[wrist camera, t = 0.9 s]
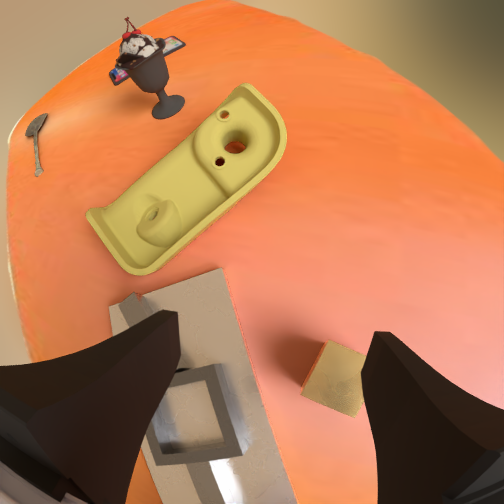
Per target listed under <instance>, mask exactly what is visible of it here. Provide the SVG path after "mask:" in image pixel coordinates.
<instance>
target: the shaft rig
mask: <svg viewBox="0 0 504 504" xmlns="http://www.w3.org/2000/svg"><path fill="white" fill-rule="evenodd" d="M162 309H164V310H170V311H176V312H178V321H179V335H180V347H181V357H180V360H179V363H178V366H177V369H176V372H175V374H174V377H173V379H172V381H171V383H170V385H169V387H168V389H167V391H166V393H165V395H164V397H163V398H162V400H161V402H160V404H159V406H158V408H157V410H156V412H155V414H154V416H153V418H152V419H151V422H150V424H149V426H148V428H147V431H146V434H145V436H144V439H143V442H142V445H141V448H142V451H143V454H144V457H145V460H146V462H147V465H148V468H149V470H150V473H151V476H152V478H153V481H154V483H155V486H156V488H157V491H158V493H159V495H160V498H161V500H162V502H163V504H300V503H299V500H298V498H297V495H296V492H295V489H294V486H293V484H292V481H291V478H290V475H289V472H288V470H287V467H286V464H285V461H284V458H283V455H282V452H281V449H280V447H279V444H278V441H277V438H276V435H275V432H274V429H273V426H272V423H271V420H270V417H269V414H268V411H267V408H266V405H265V402H264V398H263V395H262V392H261V389H260V386H259V383H258V380H257V377H256V373H255V370H254V367H253V364H252V361H251V357H250V354H249V351H248V348H247V344H246V341H245V338H244V334H243V331H242V328H241V324H240V321H239V318H238V314H237V311H236V308H235V304H234V301H233V297H232V294H231V290H230V287H229V283H228V280H227V276H226V273H225V270H224V269H223V268H222V267H221V268H219V269H216V270H213V271H210V272H207V273H204V274H201V275H199V276H196V277H193V278H190V279H187V280H184V281H181V282H178V283H176V284H173V285H170V286H167V287H164V288H161V289H158V290H155V291H152V292H150V293H147V294H144V295H140V294H138V293H135V292H133V293H132V294H131V295H129V296H128V297H127V298H126V299H125V300H123V301H122V302H121V303H118V304H115V305H112V306H109V313H110V320H111V326H112V332H113V336H115V335H117V334H119V333H121V332H123V331H125V330H126V329H128V328H130V327H132V326H133V325H135V324H137V323H139V322H141V321H142V320H144V319H146V318H147V317H149V316H151V315H153V314H154V313H156V312H158V311H160V310H162Z"/></svg>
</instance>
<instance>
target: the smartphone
mask: <svg viewBox="0 0 504 504" xmlns="http://www.w3.org/2000/svg"><path fill="white" fill-rule="evenodd" d="M164 40H165V43H166V46H165V48H164V49H163V55H164V57H165V56H167V55H169V54H171V53H173V52H174V51H176V50H178V49H180V48H182V47H184V46H185V45H186V44H185V43H184V42H182V41H181V40H179V39H178V38H176V37H175V36H170V37H168V38H166V39H164ZM109 75H110V77H111V79H112V81H113V83H114V85H115V86H116V85H118V84H120V83H122V82H123V81H125V80H126V79H127V78H129V77H130V76H129V75H128V74H127V73H126V72H125V71H124V70H121V69H117V68H114V69H113V70H111V71H110V72H109Z"/></svg>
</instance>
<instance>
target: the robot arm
mask: <svg viewBox="0 0 504 504" xmlns="http://www.w3.org/2000/svg"><path fill="white" fill-rule="evenodd" d="M180 357H181V347H180V335H179V321H178V312H176V311H170V310H164V309H162V310H160V311H158V312H156V313H154V314H153V315H151V316H149V317H147V318H146V319H144V320H142V321H141V322H139V323H137V324H135V325H133V326H132V327H130V328H128V329H126V330H125V331H123V332H121V333H119V334H117V335H115V336H113V337H111V338H109V339H107V340H105V341H103V342H101V343H99V344H96V345H94V346H92V347H89V348H87V349H84V350H81V351H79V352H76V353H73V354H69V355H66V356H62V357H59V358H55V359H51V360H47V361H42V362H37V363H30V364H24V365H13V366H12V365H11V366H0V504H125V502H126V497H127V492H128V488H129V484H130V481H131V477H132V473H133V470H134V466H135V463H136V460H137V457H138V454H139V451H140V448H141V445H142V442H143V439H144V436H145V434H146V431H147V428H148V426H149V424H150V422H151V419H152V418H153V416H154V414H155V412H156V410H157V408H158V406H159V404H160V402H161V400H162V398H163V397H164V395H165V393H166V391H167V389H168V387H169V385H170V383H171V381H172V379H173V377H174V374H175V372H176V369H177V366H178V363H179V360H180ZM361 383H362V391H363V398H364V402H365V406H366V410H367V414H368V418H369V422H370V426H371V430H372V435H373V439H374V444H375V449H376V459H377V473H378V504H504V410H503V409H500V408H498V407H495V406H493V405H491V404H488V403H486V402H484V401H482V400H480V399H479V398H477V397H475V396H473V395H471V394H469V393H468V392H466V391H464V390H463V389H461V388H460V387H458V386H456V385H455V384H453V383H452V382H450V381H449V380H448V379H446V378H445V377H444V376H442V375H441V374H440V373H438V372H437V371H436V370H434V369H433V368H432V367H431V366H430V365H428V364H427V363H426V362H425V361H424V360H422V359H421V358H420V357H419V356H418V355H417V354H416V353H414V352H413V351H412V350H411V349H410V348H409V347H408V346H406V345H405V344H404V343H403V342H402V341H401V340H399V339H398V338H397V337H396V336H395V335H393V334H392V333H391V332H380V331H375V332H374V335H373V338H372V342H371V345H370V348H369V351H368V353H367V356H366V359H365V362H364V365H363V368H362V370H361Z"/></svg>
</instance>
